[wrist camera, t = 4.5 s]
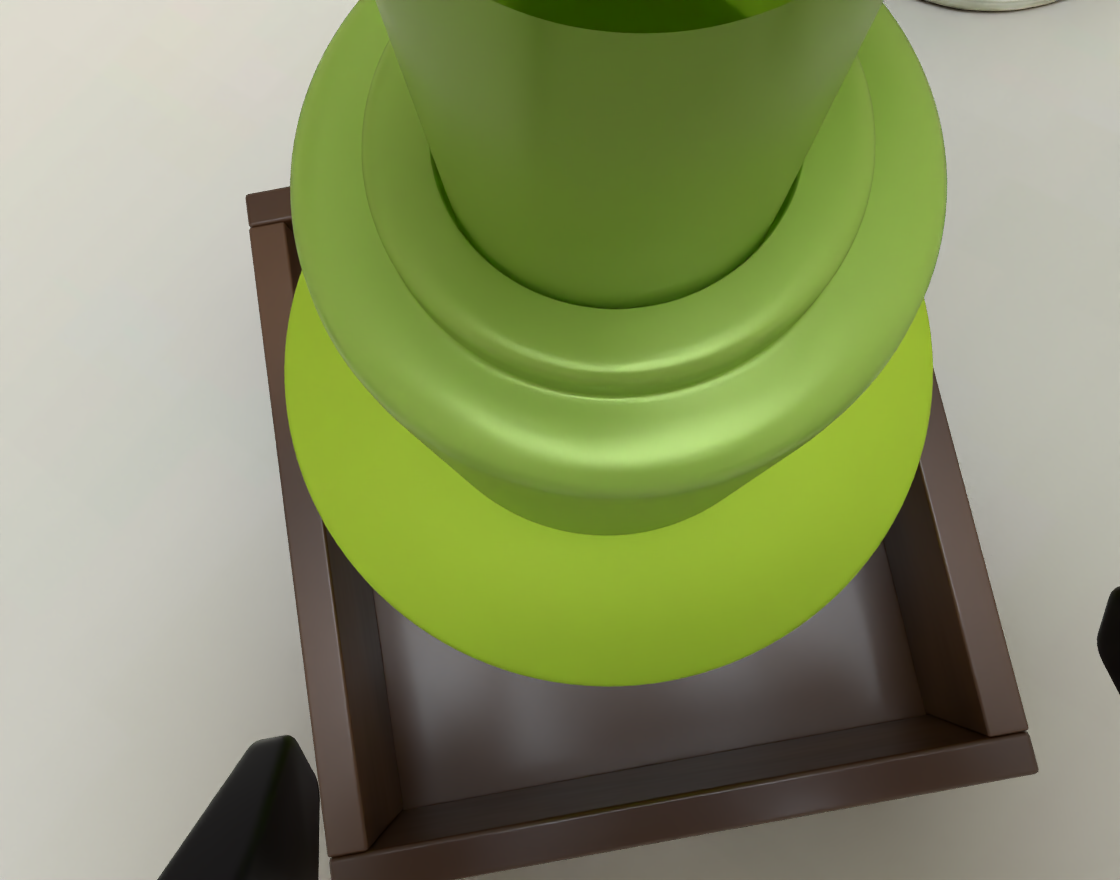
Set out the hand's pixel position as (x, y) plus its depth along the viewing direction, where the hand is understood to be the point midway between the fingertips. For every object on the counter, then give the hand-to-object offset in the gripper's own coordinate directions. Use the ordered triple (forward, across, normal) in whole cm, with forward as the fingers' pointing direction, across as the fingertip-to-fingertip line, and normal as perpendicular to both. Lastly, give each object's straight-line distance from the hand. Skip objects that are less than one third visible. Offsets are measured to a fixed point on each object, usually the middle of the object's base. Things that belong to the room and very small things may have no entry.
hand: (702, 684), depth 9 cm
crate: (+11, 0, +6) cm, 12 cm away
